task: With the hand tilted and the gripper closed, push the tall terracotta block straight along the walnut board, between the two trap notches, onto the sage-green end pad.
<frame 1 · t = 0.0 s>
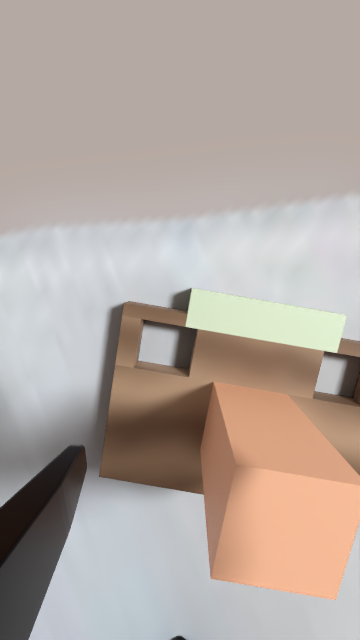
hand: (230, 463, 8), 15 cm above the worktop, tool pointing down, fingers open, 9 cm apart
green end pad: (258, 317, 23), on the worktop
walnut board: (243, 390, 24), on the worktop
terracotta block: (243, 422, 23), point 2 cm above the worktop, touching walnut board
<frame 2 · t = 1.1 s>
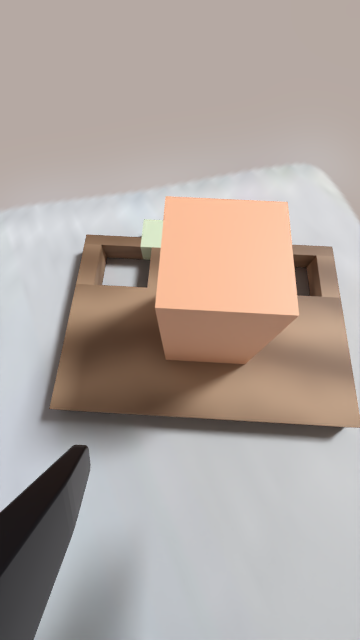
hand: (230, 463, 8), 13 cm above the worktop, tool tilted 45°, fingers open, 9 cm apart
green end pad: (206, 249, 27), on the worktop
walnut board: (204, 311, 24), on the worktop
terracotta block: (206, 324, 22), point 2 cm above the worktop, touching walnut board
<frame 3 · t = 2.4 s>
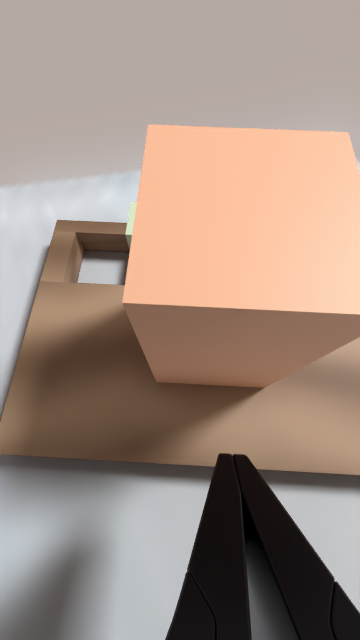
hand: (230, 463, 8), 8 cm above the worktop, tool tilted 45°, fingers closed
walnut board: (208, 316, 19), on the worktop
terracotta block: (210, 333, 16), point 2 cm above the worktop, touching walnut board
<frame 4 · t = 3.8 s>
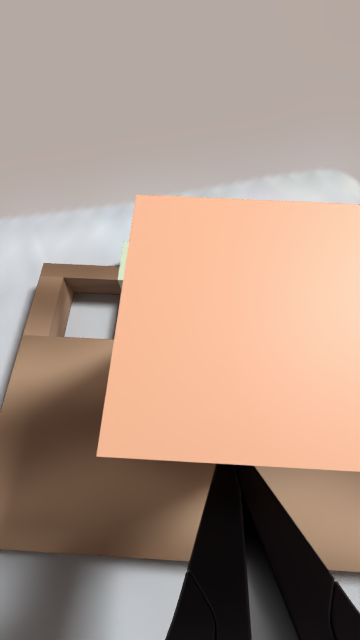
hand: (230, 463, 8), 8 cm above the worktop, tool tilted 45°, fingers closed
walnut board: (207, 369, 17), on the worktop
terracotta block: (210, 386, 15), point 2 cm above the worktop
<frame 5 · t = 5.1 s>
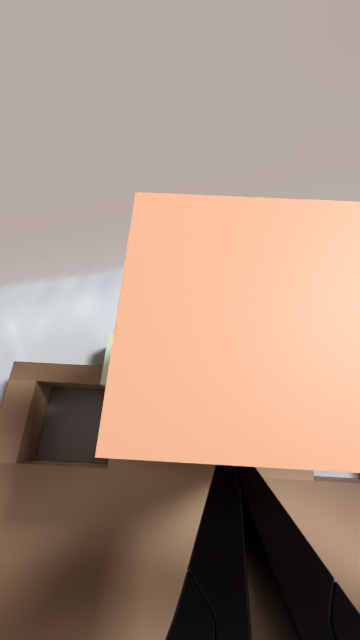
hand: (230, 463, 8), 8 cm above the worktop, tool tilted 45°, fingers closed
green end pad: (207, 370, 17), on the worktop
walnut board: (206, 491, 15), on the worktop
terracotta block: (210, 385, 15), point 2 cm above the worktop, touching green end pad, walnut board
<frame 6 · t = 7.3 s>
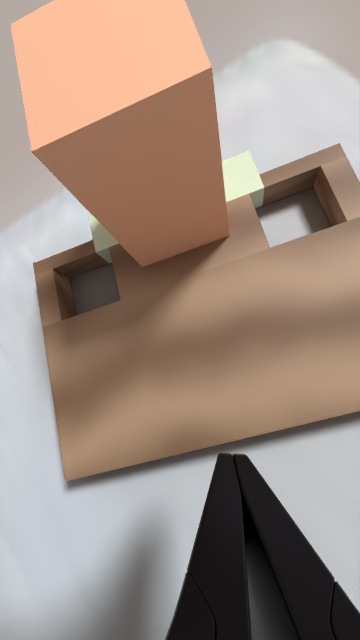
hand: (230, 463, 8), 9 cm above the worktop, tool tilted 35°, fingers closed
green end pad: (176, 218, 21), on the worktop
walnut board: (201, 297, 19), on the worktop
terracotta block: (173, 212, 19), point 2 cm above the worktop, touching green end pad, walnut board
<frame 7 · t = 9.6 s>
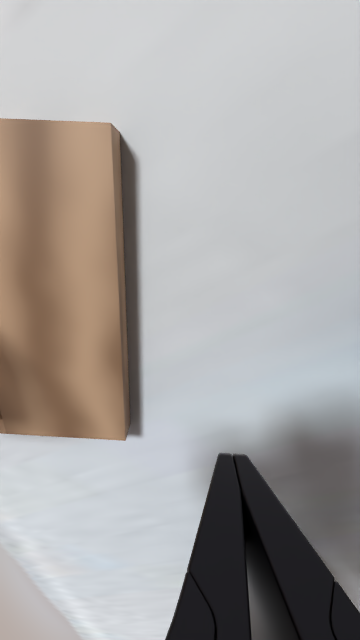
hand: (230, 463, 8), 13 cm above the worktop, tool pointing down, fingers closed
walnut board: (6, 301, 21), on the worktop
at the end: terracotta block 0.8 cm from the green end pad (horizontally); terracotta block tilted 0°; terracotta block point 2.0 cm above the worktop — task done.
